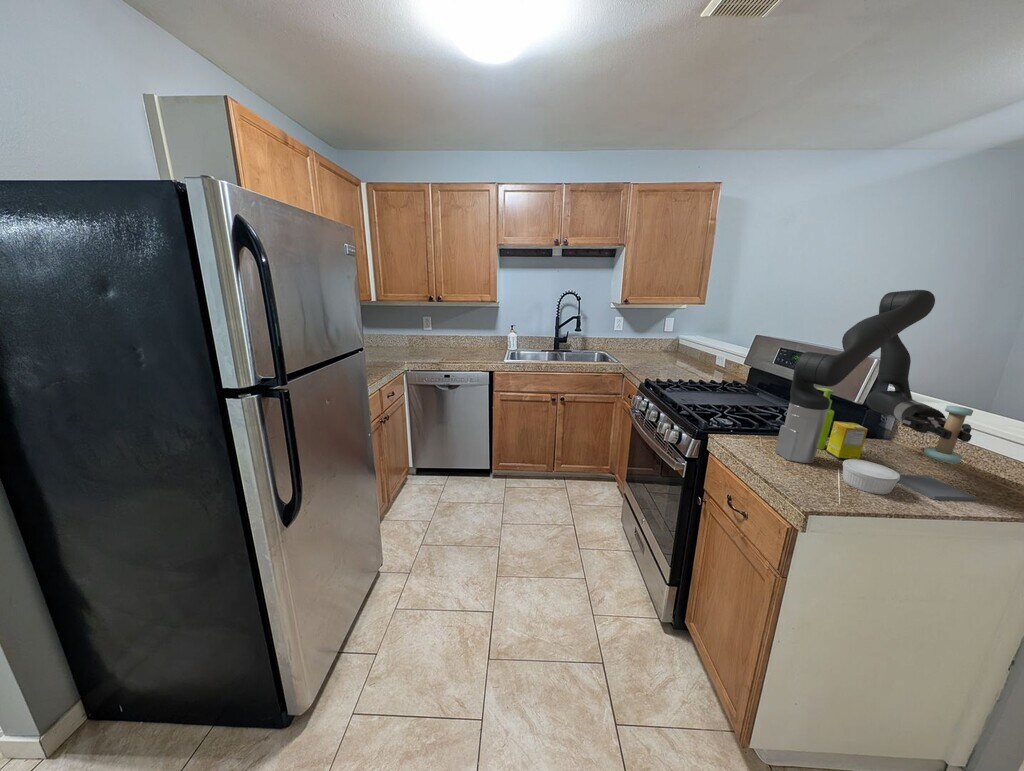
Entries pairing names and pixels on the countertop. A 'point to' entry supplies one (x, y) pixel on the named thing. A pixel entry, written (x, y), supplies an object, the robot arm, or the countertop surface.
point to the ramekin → (869, 476)
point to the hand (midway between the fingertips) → (958, 437)
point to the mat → (934, 488)
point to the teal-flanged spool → (946, 446)
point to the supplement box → (846, 440)
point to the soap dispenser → (826, 420)
